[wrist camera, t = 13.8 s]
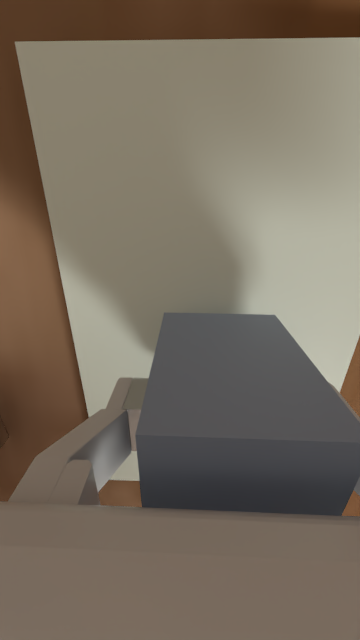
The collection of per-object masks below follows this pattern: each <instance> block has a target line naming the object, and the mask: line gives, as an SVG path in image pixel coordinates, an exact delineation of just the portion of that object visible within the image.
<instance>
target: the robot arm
mask: <svg viewBox="0 0 360 640" xmlns="http://www.w3.org/2000/svg"><path fill="white" fill-rule="evenodd" d="M148 379H149V378H132V377H120V378H119V379H118V380H117V383H116V385H115V387H114V390H113V392H112V394H111V397H110V399H109V402H108V404H107V406H106V409H100V410H99V411H98V412H96V413H95V414H94V415H92V416H91V417H89V418H88V419H87V420H85V421H84V422H83V423H81V424H80V425H78V426H77V427H76V428H74V429H73V430H71V431H70V432H69V433H67V434H66V435H65V436H63V437H62V438H60V439H59V440H58V441H56V442H55V443H53V444H52V445H51V446H49V447H48V448H47V449H45V450H44V451H42V452H41V453H40V454H38V455H37V456H36V457H35V458H34V460H33V461H32V463H31V465H30V466H29V468H28V470H27V471H26V473H25V474H24V476H23V478H22V479H21V481H20V482H19V484H18V486H17V487H16V489H15V491H14V492H13V494H12V495H11V497H10V499H9V500H8V501H0V640H360V517H358V516H333V515H309V514H285V513H262V512H240V511H217V510H194V509H171V508H148V507H124V506H101V505H100V501H99V496H98V492H99V491H100V490H101V488H102V487H103V486H104V485H105V484H106V482H107V481H108V480H109V479H110V478H111V476H112V475H113V474H114V473H115V472H116V470H117V469H118V468H119V467H120V466H121V464H122V463H123V462H124V461H125V460H126V458H127V457H128V456H129V455H130V454H131V451H137V448H136V437H135V434H136V430H137V426H138V421H139V417H140V413H141V409H142V404H143V400H144V396H145V392H146V387H147V383H148ZM329 384H330V385H331V387H332V388H333V389H334V390H335V392H336V393H337V394H338V396H339V397H340V398H341V399H342V401H343V402H344V403H345V404H346V406H347V407H348V408H349V410H350V411H351V412H352V413H353V415H354V416H355V417H356V419H357V420H358V421H359V422H360V417H359V416H358V415H357V414H356V413H355V412H354V410H353V409H352V408H351V407H350V405H349V404H348V403H347V402H346V400H345V399H344V398H343V397H342V395H341V394H340V393H339V392H338V391H337V389H336V388H335V387H334V386H333V385H332V384H331V383H329ZM354 491H355V492H356V493H357V494H358V495H359V496H360V477H359V479H358V481H357V484H356V486H355V488H354Z"/></svg>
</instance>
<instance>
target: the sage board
mask: <svg viewBox="0 0 360 640" xmlns="http://www.w3.org/2000/svg"><path fill="white" fill-rule="evenodd" d="M15 46H16V51H17V56H18V61H19V66H20V71H21V77H22V82H23V87H24V92H25V97H26V102H27V107H28V112H29V117H30V122H31V127H32V132H33V137H34V142H35V147H36V153H37V158H38V163H39V168H40V173H41V178H42V183H43V188H44V193H45V198H46V203H47V208H48V213H49V218H50V224H51V229H52V234H53V239H54V244H55V249H56V254H57V259H58V264H59V269H60V274H61V279H62V284H63V289H64V295H65V300H66V305H67V310H68V315H69V320H70V325H71V330H72V335H73V340H74V345H75V350H76V355H77V360H78V365H79V371H80V376H81V381H82V386H83V391H84V396H85V401H86V406H87V411H88V416H89V417H91V416H92V415H94V414H95V413H96V412H98V411H99V410H100V409H106V406H107V404H108V402H109V399H110V397H111V394H112V392H113V390H114V387H115V385H116V383H117V380H118V379H119V378H120V377H132V378H149V375H150V370H151V366H152V362H153V358H154V353H155V349H156V345H157V341H158V336H159V332H160V328H161V324H162V319H163V315H164V312H165V313H215V314H264V315H276V316H277V318H278V319H279V320H280V322H281V323H282V324H283V325H284V327H285V328H286V329H287V331H288V332H289V333H290V334H291V336H292V337H293V338H294V339H295V341H296V342H297V343H298V345H299V346H300V347H301V348H302V350H303V351H304V352H305V353H306V355H307V356H308V357H309V359H310V360H311V361H312V362H313V364H314V365H315V366H316V367H317V369H318V370H319V371H320V373H321V374H322V375H323V376H324V378H325V379H326V380H327V382H328V383H331V384H332V385H333V386H334V387H335V388H336V389H337V391H338V392H339V393H340V390H341V387H342V384H343V381H344V378H345V375H346V373H347V370H348V367H349V364H350V361H351V358H352V355H353V353H354V350H355V347H356V344H357V341H358V338H359V335H360V37H359V38H275V39H191V40H108V41H24V42H15ZM109 480H128V481H140V480H139V469H138V458H137V451H131V454H130V455H129V456H128V457H127V458H126V460H125V461H124V462H123V463H122V464H121V466H120V467H119V468H118V469H117V470H116V472H115V473H114V474H113V475H112V476H111V478H110V479H109Z"/></svg>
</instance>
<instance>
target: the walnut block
mask: <svg viewBox="0 0 360 640" xmlns="http://www.w3.org/2000/svg"><path fill="white" fill-rule="evenodd" d="M8 438H9V436H8V434H7V432H6V429H5V427H4V424H3V422H2V419H1V417H0V448H1V447H2V446H3V444H4V443H5V442H6V441H7V439H8Z"/></svg>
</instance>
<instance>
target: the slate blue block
mask: <svg viewBox="0 0 360 640" xmlns="http://www.w3.org/2000/svg"><path fill="white" fill-rule="evenodd" d="M135 437H136V448H137V458H138V469H139V480H140V490H141V501H142V507H148V508H171V509H194V510H217V511H240V512H262V513H285V514H309V515H333V516H341V515H342V513H343V511H344V509H345V507H346V504H347V502H348V500H349V498H350V496H351V494H352V492H353V490H354V488H355V486H356V484H357V481H358V479H359V477H360V422H359V421H358V420H357V419H356V417H355V416H354V415H353V413H352V412H351V411H350V410H349V408H348V407H347V406H346V404H345V403H344V402H343V401H342V399H341V398H340V397H339V396H338V394H337V393H336V392H335V390H334V389H333V388H332V387H331V385H330V384H329V383H328V382H327V380H326V379H325V378H324V376H323V375H322V374H321V373H320V371H319V370H318V369H317V367H316V366H315V365H314V364H313V362H312V361H311V360H310V359H309V357H308V356H307V355H306V353H305V352H304V351H303V350H302V348H301V347H300V346H299V345H298V343H297V342H296V341H295V339H294V338H293V337H292V336H291V334H290V333H289V332H288V331H287V329H286V328H285V327H284V325H283V324H282V323H281V322H280V320H279V319H278V318H277V316H276V315H264V314H215V313H165V312H164V315H163V319H162V324H161V328H160V332H159V336H158V341H157V345H156V349H155V353H154V358H153V362H152V366H151V370H150V375H149V379H148V383H147V387H146V392H145V396H144V400H143V404H142V409H141V413H140V417H139V421H138V426H137V430H136V434H135Z"/></svg>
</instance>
